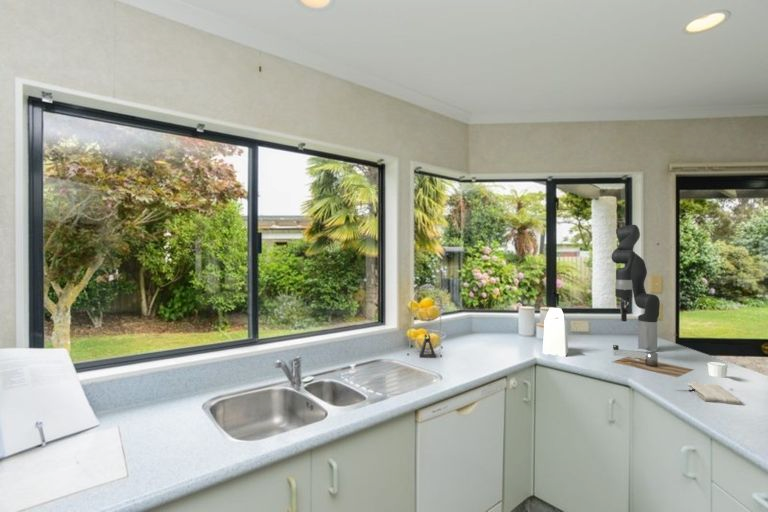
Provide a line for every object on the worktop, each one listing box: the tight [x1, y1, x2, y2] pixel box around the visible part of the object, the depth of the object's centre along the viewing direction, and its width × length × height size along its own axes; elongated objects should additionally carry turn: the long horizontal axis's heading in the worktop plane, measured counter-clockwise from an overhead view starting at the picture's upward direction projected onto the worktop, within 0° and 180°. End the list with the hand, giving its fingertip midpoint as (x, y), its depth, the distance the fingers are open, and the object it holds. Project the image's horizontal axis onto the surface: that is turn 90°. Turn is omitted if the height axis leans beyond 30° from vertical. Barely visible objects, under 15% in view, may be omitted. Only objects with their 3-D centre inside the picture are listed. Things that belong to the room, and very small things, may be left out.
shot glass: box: [706, 361, 728, 379], centre depth 168 cm, size 7×7×7 cm
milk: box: [542, 307, 569, 357], centre depth 212 cm, size 12×12×26 cm
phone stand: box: [418, 333, 437, 359], centre depth 207 cm, size 9×6×12 cm, turn 86°
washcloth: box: [687, 381, 742, 406], centre depth 149 cm, size 12×18×3 cm, turn 161°
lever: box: [612, 344, 659, 367], centre depth 186 cm, size 19×5×8 cm, turn 62°
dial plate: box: [612, 357, 695, 378], centre depth 183 cm, size 20×28×2 cm
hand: (623, 321), depth 194 cm, fingers closed
